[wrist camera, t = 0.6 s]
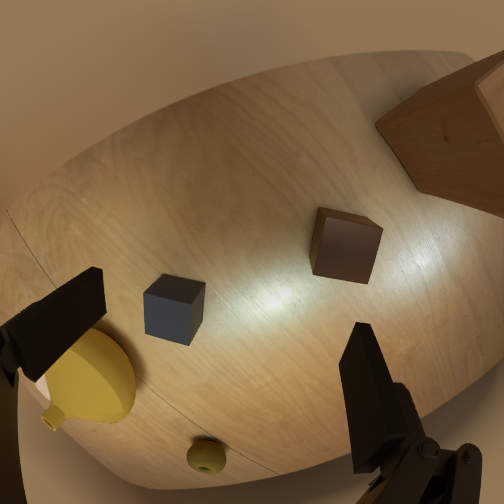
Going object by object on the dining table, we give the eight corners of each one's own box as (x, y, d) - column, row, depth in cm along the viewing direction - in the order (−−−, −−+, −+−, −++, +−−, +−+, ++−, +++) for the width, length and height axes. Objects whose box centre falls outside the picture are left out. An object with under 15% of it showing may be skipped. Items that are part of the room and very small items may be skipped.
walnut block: (318, 206, 31) (325, 216, 25) (367, 217, 30) (383, 228, 25) (308, 256, 33) (312, 275, 27) (355, 264, 32) (367, 284, 27)
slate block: (163, 273, 36) (143, 292, 30) (205, 282, 36) (191, 304, 30) (162, 311, 38) (145, 333, 32) (202, 321, 37) (189, 346, 32)
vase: (169, 370, 41) (121, 460, 23) (121, 400, 47) (80, 466, 29) (90, 290, 39) (9, 355, 21) (58, 338, 44) (2, 391, 26)
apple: (231, 453, 48) (225, 479, 41) (196, 449, 49) (188, 473, 42) (226, 436, 46) (219, 464, 39) (188, 431, 47) (178, 457, 40)
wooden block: (372, 124, 27) (476, 83, 8) (425, 86, 24) (530, 39, 5) (419, 193, 29) (537, 235, 10) (466, 151, 26) (582, 161, 7)
